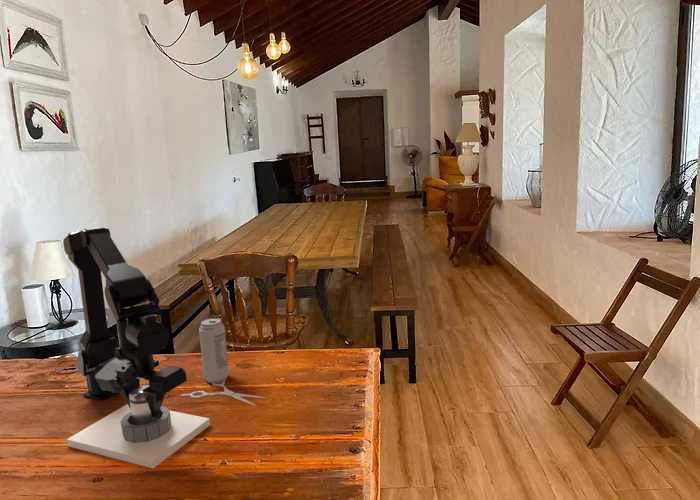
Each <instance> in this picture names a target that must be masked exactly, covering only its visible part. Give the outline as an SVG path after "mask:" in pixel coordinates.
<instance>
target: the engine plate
mask: <svg viewBox="0 0 700 500" xmlns="http://www.w3.org/2000/svg"><path fill="white" fill-rule="evenodd" d="M159 417H160V418H159V419H157V420H156V421H154V422H151V423H148V424H143V425H133V421H132V414H131V409H130V408H129V406H128V404H127V403H126V404H125V405H123V406H121V407H120V408H117V410H115V411H113V412H111V413H109V414H107V416H106V415H105V417H102V418H101V419H99V420H98V421H97V420H96V422H94V423H92V424H90V425H89V426H87V427H86V428H84V429H82V430H81V431H80V430H79V432H77V433H75V434H74V435H71V436H70V437H67V439H66V442H67V446H68V447H70V448H73V449H78V450H80V451H85V452H88V453H91V454H95V455H101V456H105V457H107V458H111V459H114V460H115V459H116V460H118V461H119V460H120V461H123V462H126V463H130V464H135V465H139V466H140V467H141V466H142V467H146V468H150V469H154V468H156V467H157V466H159V465H160V464H161V463H162V462H164V461H165V460H167V458H170V456H172V455H173V454H175V452H177V451H179V449H181V448H183V446H185V445H186V444H188V443H189V442H190V441H191V440H193V439H194V438H195V437H196V436H198V435H199V434H200V433H202V432H203V431H204V430H206V429H207V428H208V427H210V426H211V423H210V422H211V420H210V418H209V417H204V416H201V415H200V416H198V415H193V414H189V413H185V412H180V411H174V410H170V409H169V408H168V407H166V406H162V405H161V408H160V411H159Z"/></svg>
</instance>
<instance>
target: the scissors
mask: <svg viewBox="0 0 700 500" xmlns="http://www.w3.org/2000/svg"><path fill="white" fill-rule="evenodd" d="M211 384H212V386H214V387H221V388H223V391H222V392H213V393H211V392H210V393H209V392H205V390H197V391H193V392H191V393H183V394H181V395H180V396H181V397H182V396H183V397H190V398H192V399H199V398H200V399H201V398H203V397H207V396H210V397H212V396H213V397H214V396H217V395H219V396H220V395H221V396H225V397H226V396H227V397H232V398H234V399H236V400H238V401H241V402H243V403H246V404H249V405H251V406H253V407H254V406H255V407H256V406H257V405H256V404H254V403H253V402H250V401H248V400H247V399H245V398H244V397H246V398H261V399H262V398H263V399H265V398H266V397H263V396H259V395H253V394H245V393H239V392H234V391H233V390H230V389H228V388H227V386H226V385H225V384H226V380H225V381H224V380H223V382H220V383H211ZM196 394H200V395H196Z"/></svg>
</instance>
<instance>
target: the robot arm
mask: <svg viewBox="0 0 700 500" xmlns="http://www.w3.org/2000/svg"><path fill="white" fill-rule="evenodd" d="M62 244H63V249H64V253H65V255H67V258H68V260H69V261H70V262H71V264H73V266H74V267H75V268H76V269H77V271H78V280H79V286H80V288H79V289H80V294H81V301H82V302H81V303H82V309H83V317H84V324H85V325H84V326H85V331H84V333H83V334H82V336H81V338H80V340H79V349H80V350H79V351H78V353H77V359H76V365H77V371H78V372H79V373H80V375H82V376H83V377H86V379H85V380H86V384H87V391H86V392H84V393H82V396H83V397H86V398H91V399H95V400H101V401H102V400H104V399H107V398H109V397H110V396H111V395H113V394H116V393H120V394H121V395H122V397H123V398H124V400H125V402H126V405H127V404H128V406H129V408H130V409H131V406H130V402H129V392H130V391H131V390H132V389H134V388H136V387H139V386H141V385H140V383H141V382H140V381H141V380H143V381H144V380H145V381H148V385H149V387H147V388H145V389H143V390H142V392H144V393H146V394H147V395H148V398H149V404H150V409H151V413H152V416H153V417H156V416H158V414H159V411H160V408H161V406H162V405H163V402H164V400H165V396H166V394H167V393H169V392H171V391H172V390H174V389H176V388H177V387H179V386H180V385H182V384H184V383H185V382H187V378H188V377H187V372H186V369H185V368H183V367H179V366H173V365H167V366H166V367H163V368H161V369H160V370H155V368H157V367H158V366H160V361H159V360H158V359H154V354H157V353H159V352H161V351H162V350H163V349H165V347H167V345H168V343H169V339H170V333H169V332H170V331H169V330H168V328H167V327H166V325H165V324H164V323H162V322H160V321H158V320H157V316H156V315H155V314H154V312H158V311H161V308H160V305H159V304H160V298H159V297H158V295H157V292H156V290H155V288H154V286H153V285H152V283H151V282H150V280H149V278H147V277H146V276H145V274H144V273H143V272H142V271H141V270H140V269H139V268H137V267H134V266H132V265H129V264H128V262H127V260H126V259H125V258H124V256H123V254H122V253H121V252H120V249H119V248H118V246H117V245H116V244H115V242H114V240H113V238H112V237H111V231H110V229H109V227H108V226H103V225H100V226H94V227H92V226H91V227H85V228H84V229H81V230H80V231H73V232H69V233H68V234H67V235H66V237H64V238H63V241H62ZM102 276H103V277H104V278H105V286H103V277H102ZM105 300H106V301H105ZM105 302H107V305H108V307H109V309H110V311H111V313H112V314H113V317H114V318H115V322H116V329H117V337H118V340H117V338H116V337H115V335H113V333H112V332H111V331H110V330H109V328H108V320H107V312H106V310H107V309H106V303H105Z"/></svg>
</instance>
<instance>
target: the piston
mask: <svg viewBox="0 0 700 500" xmlns="http://www.w3.org/2000/svg"><path fill="white" fill-rule="evenodd" d="M147 387H149V384H144V385H140V386H139V387H136V388H134V389H132V390H131V391H130V392H129V402H130V406H131V414H132V421H133V425H143V424H148V423H151V422H154V421H156V420H157V419H159V418H160V417H159V414H158V416H156V417H153V416H152V413H151V409H150V404H149V398H148V395H147V394H146V393H144V392H142V390H143V389H145V388H147Z"/></svg>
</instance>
